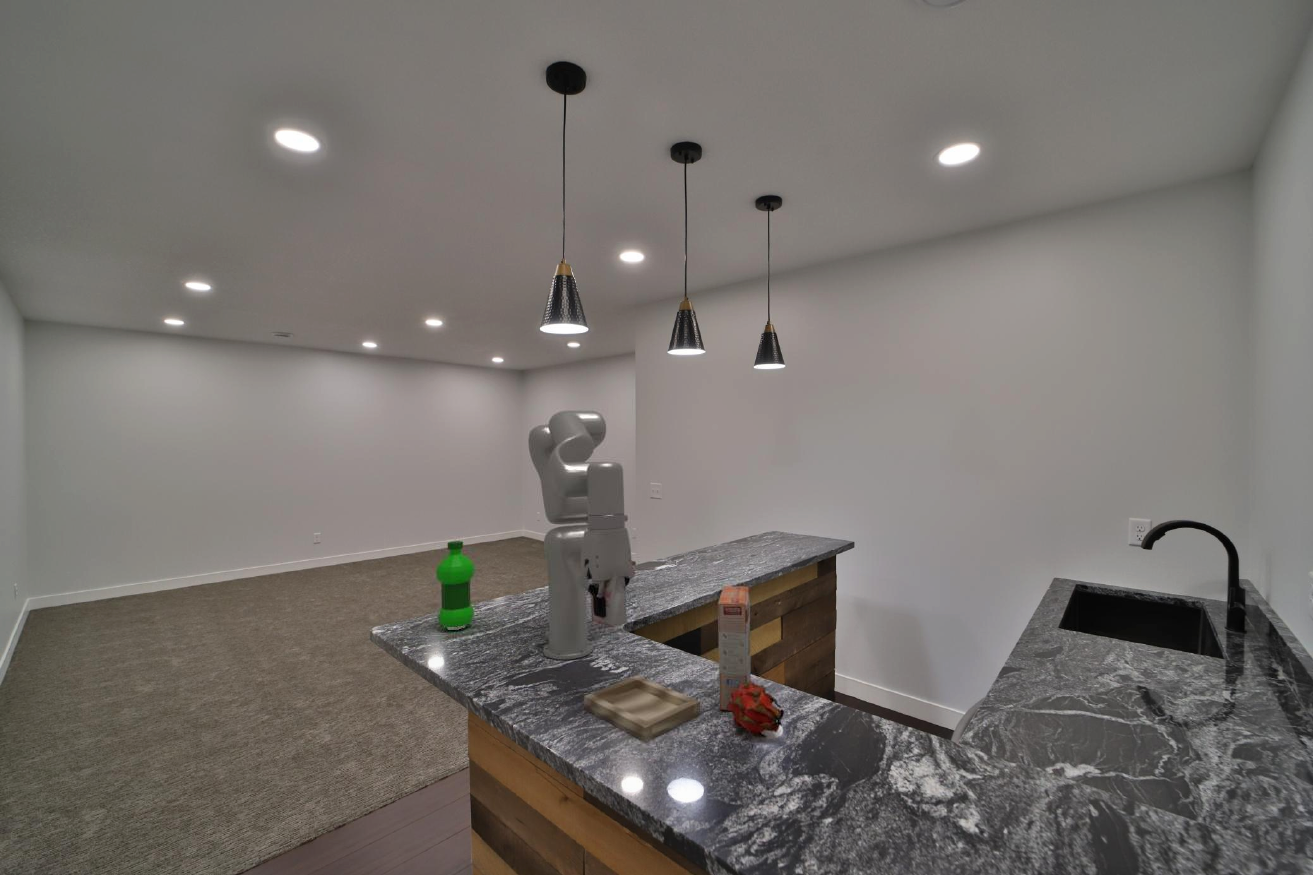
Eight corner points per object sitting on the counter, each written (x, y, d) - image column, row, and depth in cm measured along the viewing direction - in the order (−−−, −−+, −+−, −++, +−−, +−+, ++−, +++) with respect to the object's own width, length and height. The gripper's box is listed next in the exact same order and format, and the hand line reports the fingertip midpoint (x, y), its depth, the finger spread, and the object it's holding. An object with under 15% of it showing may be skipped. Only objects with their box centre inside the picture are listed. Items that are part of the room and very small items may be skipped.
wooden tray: (584, 708, 110) (584, 696, 110) (637, 687, 119) (637, 675, 119) (645, 742, 96) (645, 727, 96) (700, 714, 106) (699, 701, 106)
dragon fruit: (735, 721, 106) (779, 760, 96) (708, 706, 102) (751, 744, 92) (757, 681, 108) (803, 714, 98) (731, 664, 104) (776, 697, 94)
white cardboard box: (606, 617, 116) (604, 568, 117) (626, 623, 111) (625, 572, 112) (591, 620, 114) (590, 571, 114) (612, 627, 109) (610, 575, 109)
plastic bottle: (465, 620, 170) (464, 538, 170) (480, 628, 162) (479, 542, 163) (432, 628, 163) (431, 542, 164) (446, 636, 155) (445, 546, 156)
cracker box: (750, 713, 106) (747, 603, 107) (718, 711, 107) (715, 602, 108) (752, 683, 120) (750, 585, 120) (724, 681, 121) (722, 584, 122)
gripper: (626, 518, 122) (629, 603, 121) (561, 525, 111) (563, 619, 110) (649, 520, 116) (651, 609, 115) (582, 528, 105) (585, 626, 104)
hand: (608, 613), depth 113 cm, fingers closed on white cardboard box, 3 cm apart
